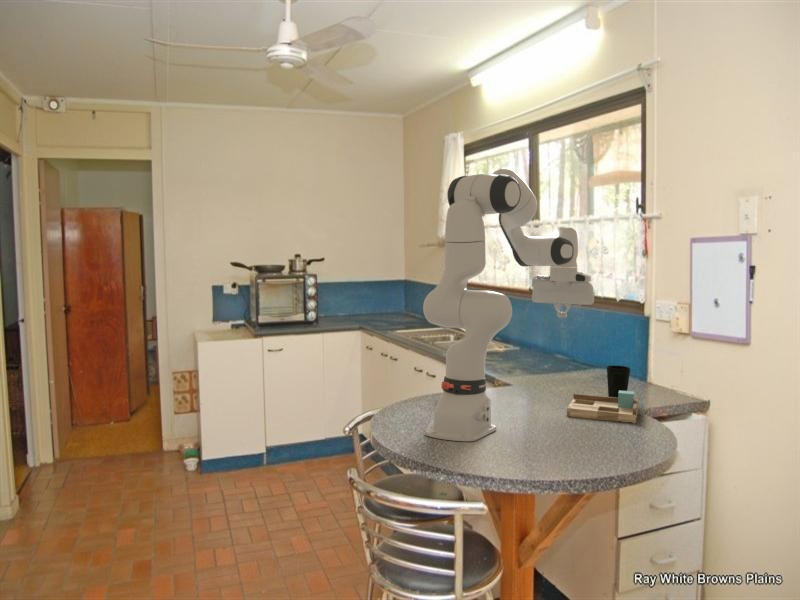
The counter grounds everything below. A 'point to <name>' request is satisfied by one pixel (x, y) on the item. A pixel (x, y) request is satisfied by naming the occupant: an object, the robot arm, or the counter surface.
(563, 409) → the counter surface
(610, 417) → the wooden tray
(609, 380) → the cup
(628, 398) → the block
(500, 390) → the counter surface
